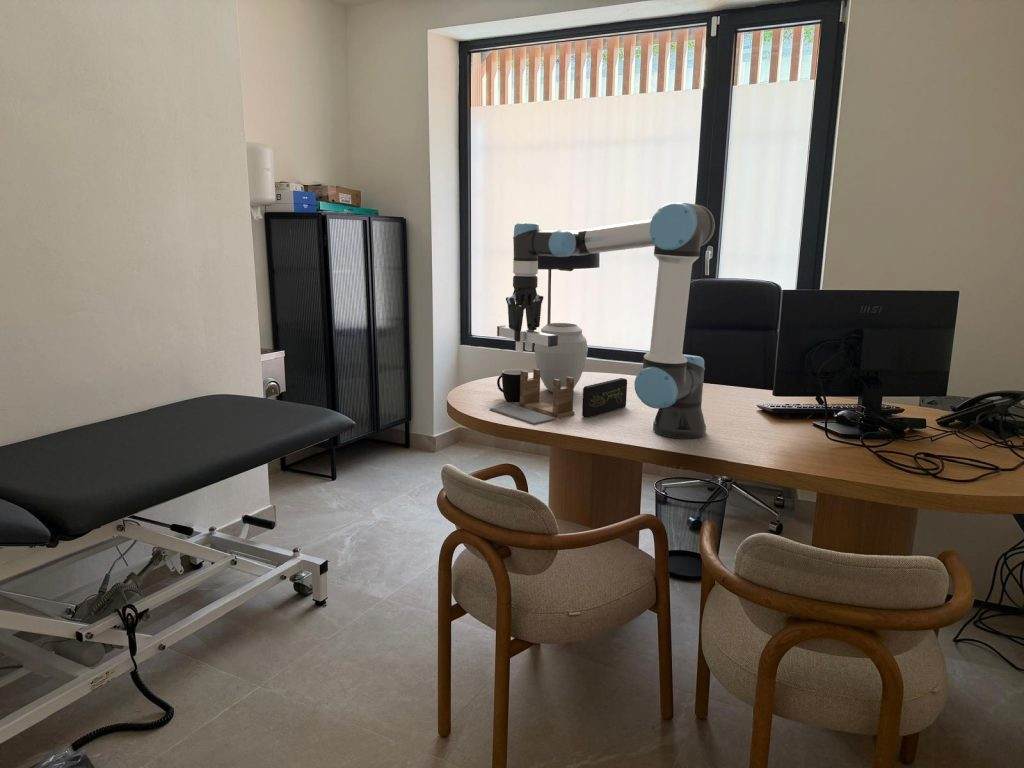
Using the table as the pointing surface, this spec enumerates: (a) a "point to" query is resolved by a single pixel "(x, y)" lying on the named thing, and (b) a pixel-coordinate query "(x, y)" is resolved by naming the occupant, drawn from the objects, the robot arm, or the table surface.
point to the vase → (562, 354)
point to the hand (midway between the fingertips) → (523, 350)
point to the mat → (523, 414)
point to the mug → (510, 384)
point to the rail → (529, 336)
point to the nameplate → (604, 397)
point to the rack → (560, 395)
